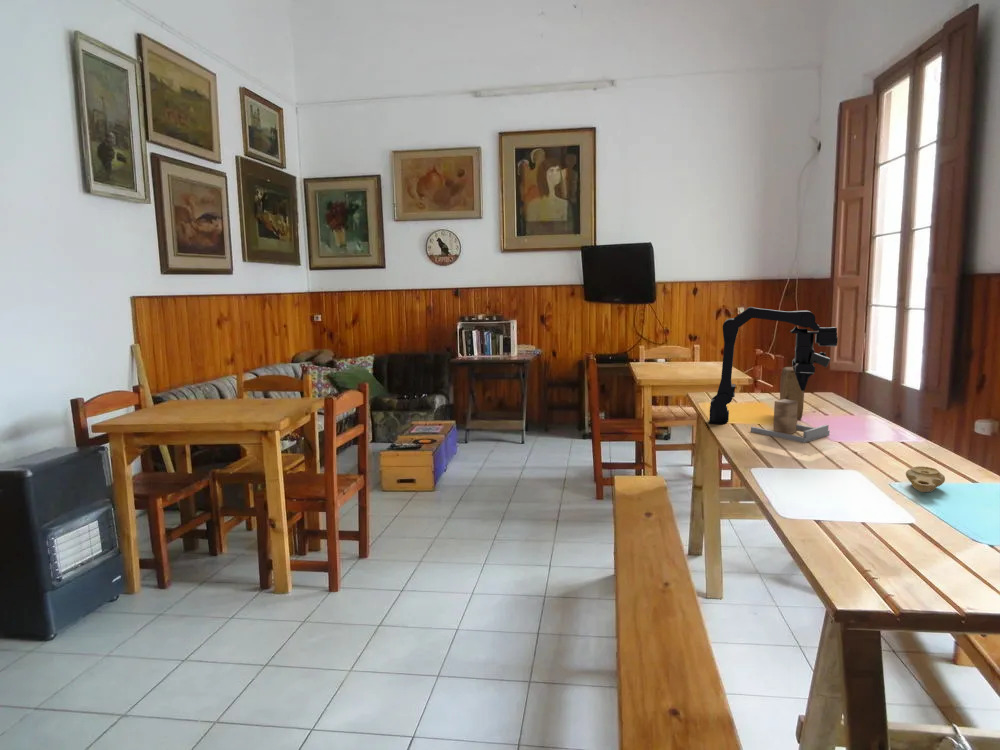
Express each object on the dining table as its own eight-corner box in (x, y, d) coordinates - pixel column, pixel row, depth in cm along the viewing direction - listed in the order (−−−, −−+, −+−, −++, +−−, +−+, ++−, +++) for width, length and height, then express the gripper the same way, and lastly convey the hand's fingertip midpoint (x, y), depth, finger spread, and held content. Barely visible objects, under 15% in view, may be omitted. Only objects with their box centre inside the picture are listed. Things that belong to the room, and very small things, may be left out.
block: (803, 421, 241) (806, 369, 237) (782, 420, 242) (785, 369, 239) (797, 415, 251) (800, 365, 248) (777, 414, 253) (779, 365, 250)
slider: (773, 432, 220) (774, 401, 218) (782, 429, 223) (784, 399, 221) (786, 434, 216) (788, 403, 214) (796, 432, 219) (797, 401, 217)
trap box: (750, 435, 222) (751, 421, 221) (776, 428, 231) (776, 415, 230) (804, 447, 206) (804, 432, 205) (829, 439, 215) (830, 424, 214)
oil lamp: (916, 499, 159) (918, 480, 158) (889, 480, 173) (891, 463, 172) (962, 500, 157) (964, 481, 156) (931, 481, 171) (933, 463, 170)
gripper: (832, 349, 215) (829, 394, 217) (826, 343, 232) (823, 385, 234) (796, 348, 219) (794, 392, 221) (793, 342, 236) (791, 383, 238)
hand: (801, 388), depth 229 cm, fingers open, 9 cm apart
